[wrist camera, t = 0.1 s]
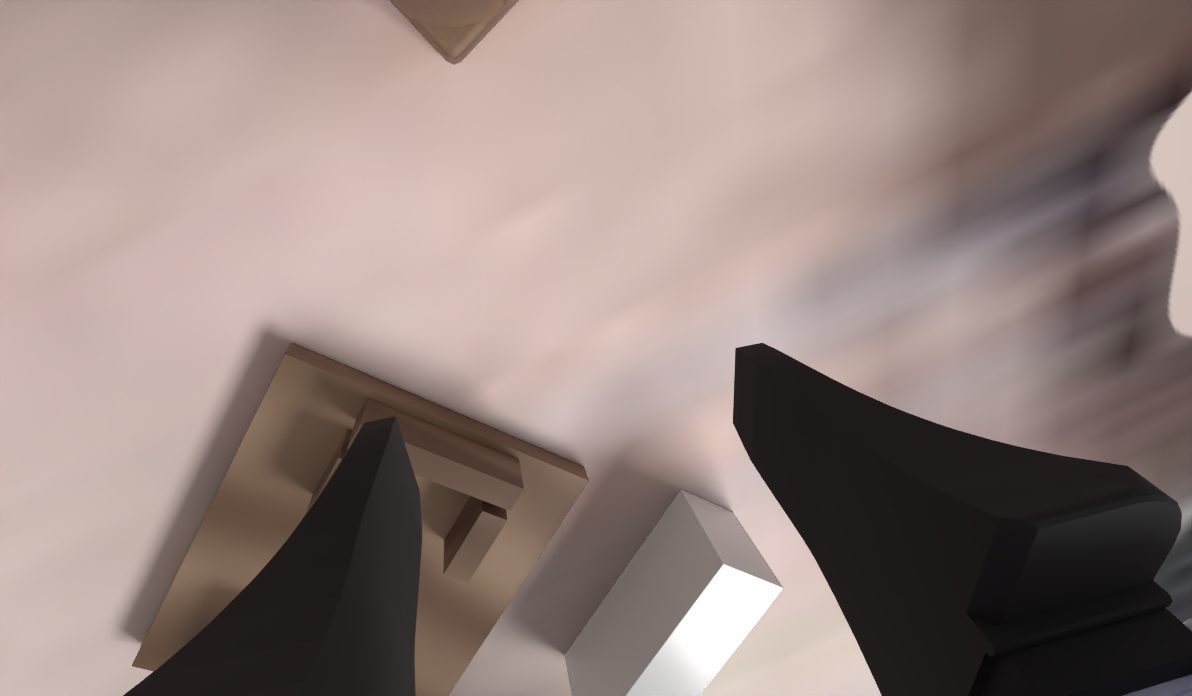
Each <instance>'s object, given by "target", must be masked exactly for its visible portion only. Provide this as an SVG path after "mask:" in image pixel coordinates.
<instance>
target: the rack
mask: <svg viewBox="0 0 1192 696" xmlns="http://www.w3.org/2000/svg"><path fill="white" fill-rule="evenodd" d="M395 416H396V419H397V422H398V425H399V428H400V431H401V434H402V437H403V440H404V444H405V447H406V450H407V453H408V456H409V459H410V462H411V465H412V468H413V471H414V475H415V478H416V481H417V484H418V487H419V490H420V502H421V518H422V549H421V564H420V578H419V591H418V605H417V618H416V632H415V659H414V660H415V693H416V696H448V695H449V694H450V692H451V691H452V689H453V688H454V686H455V684H456V683H457V681H458V680H459V678H460V677H461V675H462V674H463V672H464V671H465V669H466V668H467V666H468V665H469V663H470V662H471V660H472V659H473V657H474V655H475V654H476V652H477V651H478V649H479V648H480V646H481V645H482V643H483V642H484V640H485V639H486V637H487V636H488V634H489V633H490V631H491V629H492V628H493V626H494V625H495V623H496V622H497V620H498V619H499V617H500V616H501V614H502V613H503V611H504V610H505V608H506V607H507V605H508V604H509V602H510V600H511V599H512V597H513V596H514V594H515V593H516V591H517V590H518V588H519V587H520V585H521V584H522V582H523V581H524V579H525V578H526V576H527V574H528V573H529V571H530V570H531V568H532V567H533V565H534V564H535V562H536V561H537V559H538V558H539V556H540V555H541V553H542V552H543V550H544V549H545V547H546V545H547V544H548V542H549V541H550V539H551V538H552V536H553V535H554V533H555V532H556V530H557V529H558V527H559V526H560V524H561V523H562V521H563V519H564V518H565V516H566V515H567V513H568V512H569V510H570V509H571V507H572V506H573V504H574V503H575V501H576V500H577V498H578V497H579V495H580V494H581V492H582V490H583V489H584V487H585V486H586V484H587V483H588V481H589V480H588V477H587V474H586V471H585V468H584V467H583V466H580V465H578V464H576V463H573V462H571V461H569V460H566V459H564V458H562V457H559V456H557V455H554V454H552V453H550V452H547V451H545V450H543V449H540V448H538V447H536V446H533V445H531V444H529V443H526V442H524V441H522V440H519V439H517V438H514V437H512V436H510V435H507V434H505V433H503V432H500V431H498V430H496V429H493V428H491V427H489V426H486V425H484V424H482V423H479V422H477V421H474V420H472V419H470V418H467V417H465V416H463V415H460V414H458V413H456V412H453V411H451V410H449V409H446V408H444V407H441V406H439V405H437V404H434V403H432V402H430V401H427V400H425V399H423V398H420V397H418V396H416V395H413V394H411V393H409V392H406V391H404V390H401V389H399V388H397V387H394V386H392V385H390V384H387V383H385V382H383V381H380V380H378V379H376V378H373V377H371V376H369V375H366V374H364V373H361V372H359V371H357V370H354V369H352V368H350V367H347V366H345V365H343V364H340V363H338V362H336V361H333V360H331V359H329V358H326V357H324V356H321V355H319V354H317V353H314V352H312V351H310V350H307V349H305V348H303V347H300V346H298V345H296V344H293V343H292V344H291V345H290V347H289V348H288V350H287V352H286V353H285V355H284V357H283V359H282V361H281V363H280V365H279V367H278V369H277V371H276V373H275V375H274V377H273V379H272V381H271V383H270V385H269V387H268V389H267V391H266V394H265V396H264V398H263V400H262V402H261V404H260V406H259V408H258V410H257V412H256V414H255V416H254V418H253V420H252V422H251V424H250V426H249V428H248V430H247V432H246V434H245V436H244V438H243V440H242V442H241V444H240V446H239V448H238V450H237V453H236V455H235V457H234V459H233V461H232V463H231V465H230V467H229V469H228V471H227V473H226V475H225V477H224V479H223V481H222V483H221V485H220V487H219V489H218V491H217V493H216V495H215V497H214V499H213V501H212V503H211V505H210V507H209V509H208V511H207V514H206V516H205V518H204V520H203V522H202V524H201V526H200V528H199V530H198V532H197V534H196V536H195V538H194V540H193V542H192V544H191V546H190V548H189V550H188V552H187V554H186V556H185V558H184V560H183V562H182V564H181V566H180V568H179V570H178V573H177V575H176V577H175V579H174V581H173V583H172V585H171V587H170V589H169V591H168V593H167V595H166V597H165V599H164V601H163V603H162V605H161V607H160V609H159V611H158V613H157V615H156V617H155V619H154V621H153V623H152V625H151V627H150V629H149V632H148V634H147V636H146V638H145V640H144V642H143V644H142V646H141V648H140V650H139V652H138V654H137V656H136V658H135V660H134V662H133V664H132V666H133V667H138V668H142V669H146V670H151V671H155V670H156V669H158V668H159V667H160V666H161V665H162V664H164V663H165V662H166V661H167V660H168V659H169V658H171V657H172V656H173V655H174V654H175V653H176V652H178V651H179V650H180V649H181V648H182V647H184V646H185V645H186V644H187V643H188V642H189V641H190V640H191V639H192V638H194V637H195V636H196V635H197V634H198V633H199V632H200V631H201V630H202V629H204V628H205V627H206V626H207V625H208V624H209V623H210V622H211V621H212V620H213V619H214V618H215V617H216V616H217V615H218V614H219V613H220V612H221V611H222V610H223V609H224V608H225V607H226V606H227V605H228V604H229V603H230V602H231V601H232V600H233V599H234V598H235V597H236V596H237V595H238V594H239V593H240V592H241V591H242V590H243V589H244V588H245V587H246V586H247V585H248V584H249V583H250V582H251V581H252V580H253V579H254V578H255V577H256V576H257V575H258V573H259V572H260V571H261V570H262V569H263V568H264V567H265V566H266V564H267V563H268V562H269V561H270V560H271V559H272V558H273V556H274V555H275V554H276V553H277V552H278V550H279V549H280V548H281V547H282V545H283V544H284V543H285V542H286V540H287V539H288V538H289V536H290V535H291V534H292V532H293V531H294V530H295V528H296V527H297V526H298V524H299V523H300V522H301V520H302V519H303V517H304V516H305V515H306V513H307V512H308V511H309V509H310V508H311V506H312V505H313V504H314V502H315V501H316V499H317V498H318V496H319V495H320V493H321V492H322V490H323V488H324V487H325V485H326V484H327V482H328V481H329V479H330V478H331V476H332V475H333V473H334V471H335V470H336V468H337V467H338V465H339V463H340V462H341V460H342V458H343V457H344V455H345V453H346V452H347V450H348V448H349V447H350V445H351V443H352V441H353V440H354V438H355V436H356V435H357V433H358V431H359V430H360V428H361V427H362V425H363V424H364V423H365V422H370V421H375V420H380V419H385V418H390V417H395Z"/></svg>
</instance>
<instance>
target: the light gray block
mask: <svg viewBox="0 0 1192 696" xmlns="http://www.w3.org/2000/svg"><path fill="white" fill-rule="evenodd" d="M782 589H783V587H782V585H781V584H780V582H779V581H778V579H777V578H776V576H775V575H774V573H773V572H772V570H771V569H770V567H769V566H768V564H767V563H766V561H765V560H764V558H763V557H762V555H761V554H760V552H759V551H758V549H757V547H756V546H755V544H754V543H753V541H752V540H751V538H750V537H749V535H748V534H747V532H746V531H745V529H744V528H743V526H742V525H741V523H740V522H739V520H738V519H737V517H736V516H735V514H734V513H733V512H732V511H729V510H727V509H725V508H723V507H720V506H718V505H716V504H713V503H711V502H709V501H707V500H704V499H702V498H700V497H698V496H695V495H693V494H691V493H689V492H686V491H684V490H682V489H681V490H680V491H679V493H678V494H677V495H676V497H675V498H674V500H673V501H672V503H671V504H670V505H669V507H668V508H667V510H666V511H665V512H664V514H663V515H662V517H661V518H660V520H659V521H658V522H657V524H656V525H655V527H654V528H653V530H652V531H651V532H650V534H649V535H648V537H647V538H646V540H645V541H644V542H643V544H642V545H641V547H640V548H639V550H638V551H637V552H636V554H635V555H634V557H633V558H632V560H631V561H630V562H629V564H628V565H627V567H626V568H625V569H624V571H623V572H622V574H621V575H620V577H619V578H618V579H617V581H616V582H615V584H614V585H613V587H612V588H611V589H610V591H609V592H608V594H607V595H606V597H605V598H604V599H603V601H602V602H601V604H600V605H599V607H598V608H597V609H596V611H595V612H594V614H593V615H592V616H591V618H590V619H589V621H588V622H587V624H586V625H585V626H584V628H583V629H582V631H581V632H580V634H579V635H578V636H577V638H576V639H575V641H574V642H573V644H572V645H571V646H570V648H569V649H568V651H567V652H566V654H565V660H566V665H567V671H568V676H569V681H570V686H571V691H572V696H700V694H701V693H702V692H703V691H704V689H705V688H706V687H707V685H708V684H709V683H710V682H711V680H712V679H713V678H714V676H715V675H716V674H717V673H718V671H719V670H720V669H721V667H722V666H723V665H724V664H725V662H726V661H727V660H728V658H729V657H730V656H731V655H732V653H733V652H734V651H735V649H736V648H737V647H738V646H739V644H740V643H741V642H742V640H743V639H744V638H745V637H746V635H747V634H748V633H749V631H750V630H751V629H752V628H753V626H754V625H755V624H756V622H757V621H758V620H759V619H760V617H761V616H762V615H763V613H764V612H765V611H766V610H767V608H768V607H769V606H770V604H771V603H772V602H773V601H774V599H775V598H776V597H777V595H778V594H779V593H780V592H781V590H782Z"/></svg>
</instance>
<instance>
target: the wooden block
mask: <svg viewBox="0 0 1192 696" xmlns="http://www.w3.org/2000/svg"><path fill="white" fill-rule="evenodd" d="M390 1H391V2H392V3H393V4H394V5H395V6H396V8H397V9H398V10H399V11H400V12H401V13H402V14H403V15H404V16H405V17H406V18H407V19H408V20H409V21H410V22H411V24H412V25H413V26H414V27H415V28H416V29H417V30H418V31H419V32H420V33H421V34H422V35H423V36H424V37H425V38H426V40H427V41H428V42H429V43H430V44H431V45H432V46H433V47H434V48H435V49H436V50H437V51H438V52H439V53H440V54H441V56H442V57H443V58H444V59H445V60H446V61H448V62H450V63H452V64H456V63H459V62H461V61H462V60H463V59H464V58H465V57H466V56H467V55H468V54H469V53H470V52H471V51H472V49H473V48H474V47H475V46H476V45H477V44H478V43H479V42H480V41H481V40H482V39H483V38H484V37H485V36H486V35H487V34H488V32H489V31H490V30H491V29H492V28H493V27H494V26H495V25H496V24H497V23H498V22H499V21H500V20H501V19H502V18H503V17H504V15H505V14H506V13H507V12H508V11H509V10H510V9H511V8H512V7H513V6H514V5H515V4H516V3H517V2H518V1H519V0H390Z"/></svg>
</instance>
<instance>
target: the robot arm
mask: <svg viewBox="0 0 1192 696" xmlns="http://www.w3.org/2000/svg"><path fill="white" fill-rule="evenodd" d="M733 424H734V426H735V428H736V430H737V432H738V435H739V437H740V439H741V441H742V443H743V445H744V447H745V449H746V451H747V453H748V455H749V457H750V459H751V461H752V463H753V464H754V466H755V468H756V469H757V471H758V472H759V474H760V475H761V477H762V478H763V480H764V481H765V483H766V484H767V486H768V487H769V489H770V490H771V492H772V493H773V495H774V496H775V498H776V499H777V501H778V502H779V504H780V505H781V507H782V508H783V510H784V511H785V513H786V514H787V516H788V517H789V519H790V520H791V522H792V523H793V525H794V526H795V528H796V529H797V531H798V532H799V534H800V535H801V537H802V538H803V540H804V541H805V543H806V545H807V546H808V548H809V549H810V551H811V553H812V554H813V556H814V558H815V560H816V561H817V563H818V565H819V567H820V569H821V571H822V573H823V575H824V577H825V579H826V580H827V582H828V584H829V586H830V588H831V590H832V592H833V594H834V596H835V598H836V600H837V602H838V604H839V606H840V608H841V610H842V612H843V614H844V616H845V618H846V620H847V622H848V624H849V626H850V628H851V630H852V632H853V634H854V636H855V638H856V640H857V642H858V645H859V647H860V649H861V651H862V653H863V655H864V658H865V660H866V662H867V664H868V666H869V668H870V671H871V673H872V675H873V677H874V679H875V682H876V684H877V686H878V688H879V690H880V693H881V695H882V696H1192V618H1191V619H1189V620H1188V621H1187V622H1186V623H1185V624H1183V623H1182V622H1181V621H1180V620H1178V619H1177V618H1176V617H1175V616H1174V615H1173V614H1172V613H1171V612H1169V611H1168V610H1167V609H1166V608H1165V607H1168V606H1170V604H1171V602H1172V599H1171V596H1170V595H1169V594H1168V593H1167V592H1166V591H1165V590H1164V589H1162V588H1161V587H1160V586H1159V585H1158V584H1157V583H1155V582H1154V581H1153V579H1154V577H1155V575H1156V574H1157V572H1158V570H1159V569H1160V567H1161V565H1162V563H1163V562H1164V560H1165V558H1166V557H1167V555H1168V553H1169V551H1170V550H1171V548H1172V546H1173V545H1174V543H1175V541H1176V538H1177V536H1178V534H1179V532H1180V529H1181V518H1182V515H1181V510H1180V508H1179V506H1178V503H1177V502H1176V501H1175V500H1173V499H1172V498H1171V497H1169V496H1168V495H1167V494H1165V493H1164V492H1162V491H1161V490H1160V489H1158V488H1157V487H1156V486H1154V485H1153V484H1152V483H1150V482H1149V481H1148V480H1146V479H1145V478H1143V477H1142V476H1141V475H1139V474H1138V473H1137V472H1135V471H1134V470H1133V469H1131V468H1130V467H1128V466H1123V465H1117V464H1111V463H1104V462H1098V461H1092V460H1085V459H1079V458H1072V457H1066V456H1060V455H1055V454H1050V453H1045V452H1041V451H1036V450H1031V449H1027V448H1022V447H1017V446H1013V445H1009V444H1005V443H1001V442H997V441H993V440H989V439H986V438H982V437H979V436H975V435H972V434H968V433H965V432H962V431H958V430H955V429H952V428H949V427H945V426H942V425H939V424H936V423H934V422H931V421H928V420H925V419H923V418H920V417H917V416H914V415H912V414H909V413H906V412H904V411H901V410H899V409H896V408H894V407H891V406H889V405H887V404H884V403H882V402H880V401H878V400H875V399H873V398H871V397H869V396H866V395H864V394H862V393H860V392H858V391H856V390H854V389H851V388H849V387H847V386H845V385H843V384H841V383H839V382H837V381H835V380H833V379H831V378H829V377H827V376H825V375H824V374H822V373H820V372H818V371H816V370H814V369H812V368H810V367H808V366H807V365H805V364H803V363H801V362H799V361H797V360H795V359H793V358H792V357H790V356H788V355H786V354H784V353H782V352H780V351H778V350H776V349H774V348H772V347H770V346H768V345H766V344H764V343H759V344H754V345H749V346H744V347H739V348H736V353H735V381H734V408H733ZM421 549H422V518H421V502H420V490H419V487H418V484H417V481H416V478H415V475H414V471H413V468H412V465H411V462H410V459H409V456H408V453H407V450H406V447H405V444H404V440H403V437H402V434H401V431H400V428H399V425H398V422H397V419H396V416H395V417H390V418H385V419H380V420H375V421H370V422H365V423H364V424H363V425H362V427H361V428H360V430H359V431H358V433H357V435H356V436H355V438H354V440H353V441H352V443H351V445H350V447H349V448H348V450H347V452H346V453H345V455H344V457H343V458H342V460H341V462H340V463H339V465H338V467H337V468H336V470H335V471H334V473H333V475H332V476H331V478H330V479H329V481H328V482H327V484H326V485H325V487H324V488H323V490H322V492H321V493H320V495H319V496H318V498H317V499H316V501H315V502H314V504H313V505H312V506H311V508H310V509H309V511H308V512H307V513H306V515H305V516H304V517H303V519H302V520H301V522H300V523H299V524H298V526H297V527H296V528H295V530H294V531H293V532H292V534H291V535H290V536H289V538H288V539H287V540H286V542H285V543H284V544H283V545H282V547H281V548H280V549H279V550H278V552H277V553H276V554H275V555H274V556H273V558H272V559H271V560H270V561H269V562H268V563H267V564H266V566H265V567H264V568H263V569H262V570H261V571H260V572H259V573H258V575H257V576H256V577H255V578H254V579H253V580H252V581H251V582H250V583H249V584H248V585H247V586H246V587H245V588H244V589H243V590H242V591H241V592H240V593H239V594H238V595H237V596H236V597H235V598H234V599H233V600H232V601H231V602H230V603H229V604H228V605H227V606H226V607H225V608H224V609H223V610H222V611H221V612H220V613H219V614H218V615H217V616H216V617H215V618H214V619H213V620H212V621H211V622H210V623H209V624H208V625H207V626H206V627H205V628H204V629H202V630H201V631H200V632H199V633H198V634H197V635H196V636H195V637H194V638H192V639H191V640H190V641H189V642H188V643H187V644H186V645H185V646H184V647H182V648H181V649H180V650H179V651H178V652H176V653H175V654H174V655H173V656H172V657H171V658H169V659H168V660H167V661H166V662H165V663H164V664H162V665H161V666H160V667H159V668H158V669H156V670H155V671H154V672H153V673H151V674H150V675H149V676H148V677H147V678H145V679H144V680H143V681H142V682H140V683H139V684H138V685H136V686H135V687H134V688H132V689H131V690H130V691H128V692H127V693H126V694H125V695H123V696H416V693H415V660H414V659H415V632H416V618H417V605H418V591H419V578H420V564H421Z"/></svg>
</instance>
